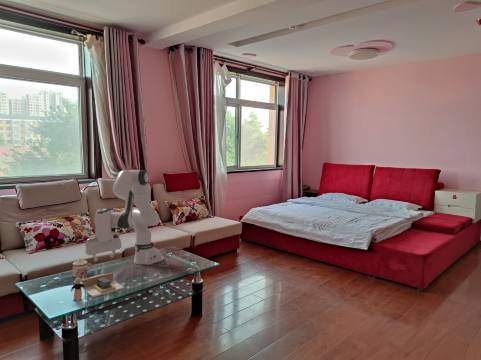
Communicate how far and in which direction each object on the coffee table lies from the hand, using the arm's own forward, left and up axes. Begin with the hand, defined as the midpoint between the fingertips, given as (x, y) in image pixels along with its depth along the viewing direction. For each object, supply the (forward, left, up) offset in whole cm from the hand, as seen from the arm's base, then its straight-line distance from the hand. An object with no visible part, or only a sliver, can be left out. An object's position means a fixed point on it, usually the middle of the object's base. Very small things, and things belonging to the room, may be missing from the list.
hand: (104, 259), depth 204 cm
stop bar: (0, 0, -18) cm, 18 cm away
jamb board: (0, -8, -19) cm, 20 cm away
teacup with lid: (+1, -31, -19) cm, 36 cm away
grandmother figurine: (+16, +4, -19) cm, 25 cm away
